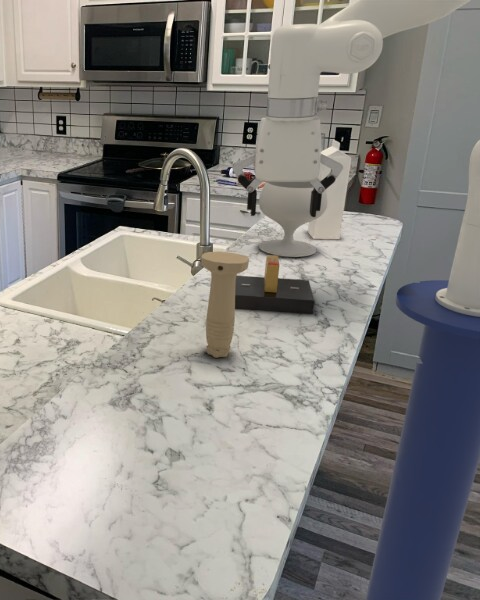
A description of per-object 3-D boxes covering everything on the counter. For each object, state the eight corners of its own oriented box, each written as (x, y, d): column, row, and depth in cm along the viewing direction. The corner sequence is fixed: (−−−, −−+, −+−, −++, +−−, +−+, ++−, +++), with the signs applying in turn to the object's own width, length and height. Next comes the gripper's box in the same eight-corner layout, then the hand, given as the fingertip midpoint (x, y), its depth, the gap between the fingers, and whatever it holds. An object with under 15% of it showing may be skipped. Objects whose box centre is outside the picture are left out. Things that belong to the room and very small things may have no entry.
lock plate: (307, 292, 112) (309, 279, 111) (312, 314, 103) (314, 299, 102) (229, 287, 115) (230, 274, 114) (227, 307, 106) (228, 293, 105)
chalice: (252, 239, 143) (258, 175, 138) (314, 241, 141) (323, 176, 135) (257, 258, 131) (264, 188, 125) (326, 261, 128) (336, 190, 123)
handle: (201, 343, 94) (206, 249, 88) (243, 351, 91) (252, 255, 85) (192, 356, 90) (197, 259, 84) (235, 365, 87) (244, 265, 81)
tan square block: (263, 281, 111) (266, 253, 109) (275, 281, 110) (278, 254, 108) (264, 291, 106) (267, 263, 104) (276, 292, 105) (279, 264, 103)
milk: (333, 232, 148) (347, 139, 139) (339, 239, 142) (354, 142, 134) (306, 232, 148) (319, 139, 140) (312, 239, 143) (325, 142, 135)
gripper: (346, 105, 98) (333, 210, 105) (235, 108, 102) (230, 208, 109) (353, 110, 92) (340, 221, 98) (235, 112, 96) (229, 219, 102)
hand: (282, 214), depth 103 cm, fingers open, 9 cm apart
